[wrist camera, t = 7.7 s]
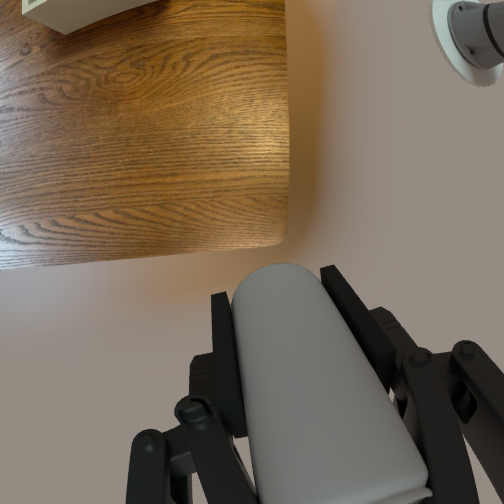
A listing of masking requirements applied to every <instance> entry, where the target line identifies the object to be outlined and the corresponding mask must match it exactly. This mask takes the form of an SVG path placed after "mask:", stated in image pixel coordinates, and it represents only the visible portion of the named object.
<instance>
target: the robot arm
mask: <svg viewBox="0 0 504 504" xmlns="http://www.w3.org/2000/svg"><path fill="white" fill-rule="evenodd" d="M447 22H448V28H449V32H450V35H451V37H452V40H453V42H454V44H455V46H456V48H457V49H458V51H459V52H460V54H461V55H462V56H463V58H464V59H465V60H466V61H467V62H468V63H469V64H471V65H472V66H474V67H476V68H479V69H491V68H493V67H495V66H497V65H499V64H501V63H503V62H504V2H498V3H492V4H481V3H476V2H470V1H459V2H456V3H453V4H452V5H451V6H450V8H449V10H448V14H447ZM320 273H321V283H322V285H323V286H324V288H325V290H326V291H327V293H328V295H329V296H330V298H331V299H332V301H333V303H334V304H335V306H336V307H337V309H338V311H339V312H340V314H341V316H342V317H343V319H344V321H345V322H346V324H347V326H348V327H349V329H350V330H351V332H352V334H353V335H354V337H355V339H356V341H357V342H358V344H359V346H360V347H361V349H362V351H363V352H364V354H365V356H366V357H367V359H368V361H369V363H370V364H371V366H372V368H373V369H374V371H375V373H376V375H377V376H378V378H379V380H380V382H381V383H382V385H383V387H384V389H385V390H386V392H387V394H388V395H389V391H390V387H391V389H392V391H393V392H394V394H395V395H394V399H393V405H394V406H395V408H396V410H397V412H398V414H399V415H400V417H401V419H402V421H403V423H404V425H405V426H406V428H407V430H408V432H409V434H410V436H411V438H412V439H413V441H414V443H415V445H416V447H417V449H418V451H419V453H420V455H421V456H422V458H423V460H424V462H425V464H426V466H427V468H428V472H429V477H428V481H427V484H426V488H429V489H431V490H432V493H433V496H431V497H425V498H424V499H423V500H422V501H421V502H420V503H419V504H480V503H479V498H478V493H477V488H476V484H475V479H474V475H473V471H472V467H471V463H470V459H469V456H468V452H467V449H466V445H465V442H464V438H463V435H464V437H465V439H466V440H467V442H468V443H469V445H470V447H471V448H472V450H473V452H474V453H475V455H476V457H477V458H478V460H479V462H480V464H481V465H482V467H483V469H484V470H485V472H486V474H487V476H488V477H489V479H490V481H491V483H492V484H493V486H494V488H495V490H496V492H497V494H498V496H499V498H500V499H501V501H502V503H503V504H504V374H503V373H502V371H501V370H500V369H499V368H498V367H497V366H496V364H495V363H494V362H493V361H492V360H491V359H490V358H489V356H488V355H487V354H486V353H485V352H484V351H483V350H482V348H481V347H480V346H479V345H477V344H476V343H475V342H472V341H469V340H463V341H459V342H458V343H456V344H455V345H454V347H453V349H452V351H451V352H444V353H437V354H432V353H431V352H430V351H429V350H427V349H425V348H421V347H418V346H417V345H416V343H415V342H414V341H413V340H412V338H411V337H410V336H409V334H408V333H407V332H406V331H405V329H404V328H403V327H402V326H401V324H400V323H399V322H398V321H397V320H396V318H395V317H394V316H393V314H392V313H391V312H390V311H388V310H386V309H385V308H383V307H378V308H375V309H372V310H368V309H367V308H366V306H365V305H364V304H363V302H362V301H361V300H360V298H359V297H358V296H357V294H356V293H355V292H354V290H353V289H352V288H351V286H350V285H349V284H348V282H347V281H346V280H345V278H344V277H343V276H342V274H341V273H340V272H339V270H338V269H337V268H336V267H335V265H330V266H327V267H323V268H320ZM211 313H212V343H213V352H212V353H206V354H202V355H197V356H194V358H193V360H192V362H191V364H190V376H189V382H190V384H189V395H188V396H186V397H184V398H182V399H181V400H180V401H179V402H178V403H177V405H176V407H175V410H174V412H175V413H174V415H175V417H176V418H177V419H178V421H179V422H180V425H179V426H177V427H175V428H173V429H171V430H168V431H166V432H163V433H161V432H160V431H158V430H155V429H147V430H143V431H141V432H140V433H138V434H137V435H136V436H135V438H134V439H133V442H132V447H131V455H130V463H129V472H128V482H127V493H126V504H193V501H192V500H193V499H192V475H191V474H192V473H195V472H197V474H198V476H199V479H200V482H201V485H202V488H203V491H204V493H205V496H206V499H207V502H208V504H259V502H258V499H257V494H256V489H255V487H254V485H253V483H252V481H251V479H250V477H249V475H248V472H247V470H246V468H245V466H244V464H243V462H242V460H241V458H240V455H239V453H238V451H237V448H236V447H235V445H234V443H233V435H234V437H235V438H242V437H247V436H248V431H247V424H246V416H245V409H244V401H243V393H242V385H241V378H240V371H239V363H238V356H237V348H236V340H235V333H234V325H233V317H232V310H231V307H230V303H229V300H228V297H227V294H226V291H225V292H222V293H217V294H213V295H211ZM462 434H463V435H462Z"/></svg>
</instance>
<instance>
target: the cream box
mask: <svg viewBox="0 0 504 504" xmlns="http://www.w3.org/2000/svg"><path fill="white" fill-rule="evenodd" d="M155 1H158V0H22V15H24V16H26V17H28V18H30V19H33V20H35V21H37V22H39V23H41V24H43V25H46V26H48V27H50V28H52V29H54V30H56V31H58V32H60V33H62V34H64V35H67V34H69V33H71V32H73V31H76V30H78V29H80V28H82V27H84V26H87V25H89V24H91V23H94V22H96V21H99V20H101V19H104V18H106V17H109V16H112V15H114V14H117V13H120V12H123V11H126V10H129V9H132V8H135V7H138V6H141V5H144V4H148V3H151V2H155Z"/></svg>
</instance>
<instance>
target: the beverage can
mask: <svg viewBox="0 0 504 504" xmlns="http://www.w3.org/2000/svg"><path fill="white" fill-rule="evenodd" d="M231 309H232V317H233V325H234V333H235V340H236V348H237V356H238V363H239V371H240V378H241V385H242V393H243V401H244V409H245V416H246V424H247V431H248V439H249V445H250V454H251V461H252V468H253V474H254V481H255V487H256V494H257V499H258V502H259V504H419V503H420V502H421V501H422V500H423V499H424V498H425V497H431V496H433V493H432V490H431V489H429V488H426V484H427V481H428V477H429V472H428V468H427V466H426V464H425V462H424V460H423V458H422V456H421V455H420V453H419V451H418V449H417V447H416V445H415V443H414V441H413V439H412V438H411V436H410V434H409V432H408V430H407V428H406V426H405V425H404V423H403V421H402V419H401V417H400V415H399V414H398V412H397V410H396V408H395V406H394V405H393V403H392V401H391V400H390V397H389V396H388V394H387V392H386V390H385V389H384V387H383V385H382V383H381V382H380V380H379V378H378V376H377V375H376V373H375V371H374V369H373V368H372V366H371V364H370V363H369V361H368V359H367V357H366V356H365V354H364V352H363V351H362V349H361V347H360V346H359V344H358V342H357V341H356V339H355V337H354V335H353V334H352V332H351V330H350V329H349V327H348V326H347V324H346V322H345V321H344V319H343V317H342V316H341V314H340V312H339V311H338V309H337V307H336V306H335V304H334V303H333V301H332V299H331V298H330V296H329V295H328V293H327V291H326V290H325V288H324V286H323V285H322V283H321V282H320V280H319V279H318V278H317V276H316V275H314V274H313V273H312V272H311V271H310V270H308V269H306V268H304V267H302V266H300V265H295V264H290V263H278V264H272V265H268V266H265V267H261V268H260V269H258V270H256V271H254V272H253V273H251V274H249V275H248V276H247V277H246V278H245V279H244V280H243V281H242V282H241V283H240V284H239V286H238V288H237V289H236V291H235V292H234V295H233V299H232V303H231Z"/></svg>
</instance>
